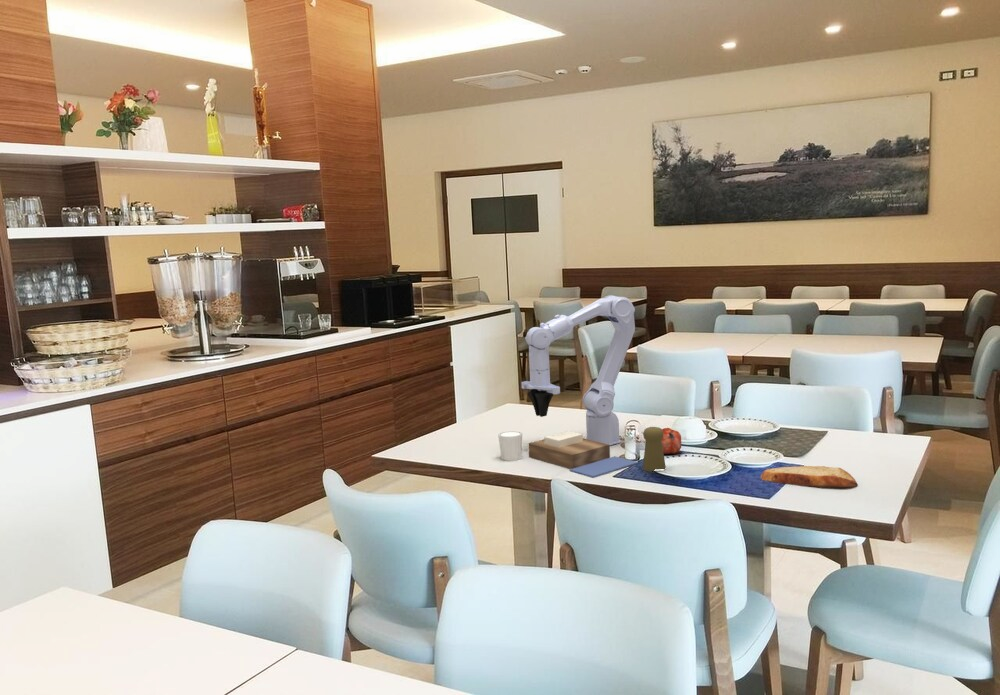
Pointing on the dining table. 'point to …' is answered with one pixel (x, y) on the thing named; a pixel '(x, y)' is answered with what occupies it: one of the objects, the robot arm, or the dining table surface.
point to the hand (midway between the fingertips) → (541, 415)
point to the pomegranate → (671, 441)
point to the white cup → (510, 445)
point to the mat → (603, 466)
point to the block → (563, 439)
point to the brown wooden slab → (570, 453)
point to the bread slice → (810, 476)
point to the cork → (653, 449)
